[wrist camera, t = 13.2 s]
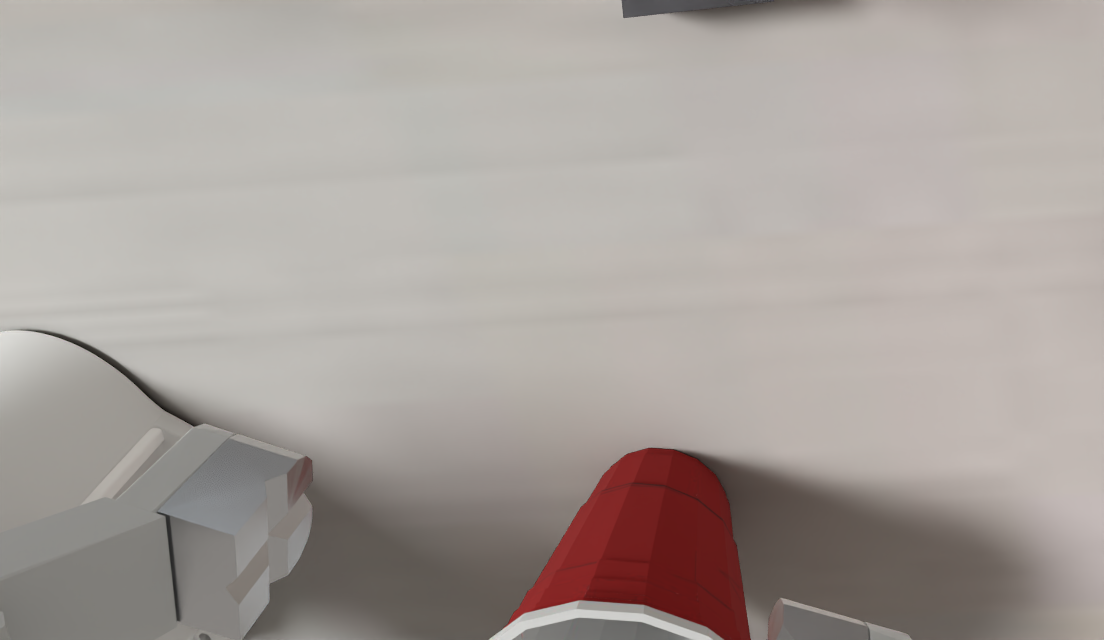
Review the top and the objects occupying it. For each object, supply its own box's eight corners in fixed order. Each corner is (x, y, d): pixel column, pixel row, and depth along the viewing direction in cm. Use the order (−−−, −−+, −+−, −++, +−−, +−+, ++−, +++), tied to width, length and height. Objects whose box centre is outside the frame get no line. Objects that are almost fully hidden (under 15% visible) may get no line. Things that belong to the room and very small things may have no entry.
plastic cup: (704, 622, 42) (671, 869, 32) (515, 511, 42) (422, 724, 32) (843, 487, 36) (857, 736, 26) (625, 356, 36) (554, 557, 26)
